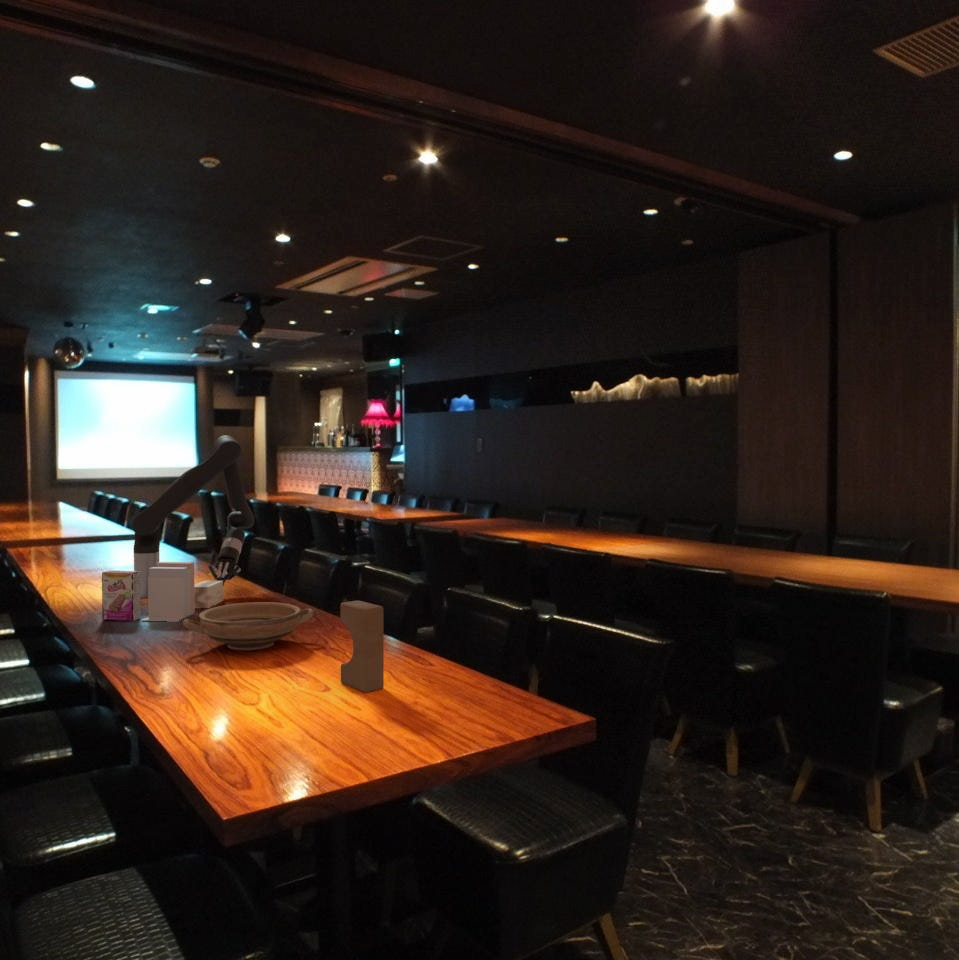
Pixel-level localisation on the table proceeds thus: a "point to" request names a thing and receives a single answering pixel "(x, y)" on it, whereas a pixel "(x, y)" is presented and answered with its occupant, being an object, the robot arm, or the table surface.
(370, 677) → the decorative block
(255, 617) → the ceramic bowl
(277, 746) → the table surface
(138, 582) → the candy bar box
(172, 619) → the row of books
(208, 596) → the beige rectangular block
